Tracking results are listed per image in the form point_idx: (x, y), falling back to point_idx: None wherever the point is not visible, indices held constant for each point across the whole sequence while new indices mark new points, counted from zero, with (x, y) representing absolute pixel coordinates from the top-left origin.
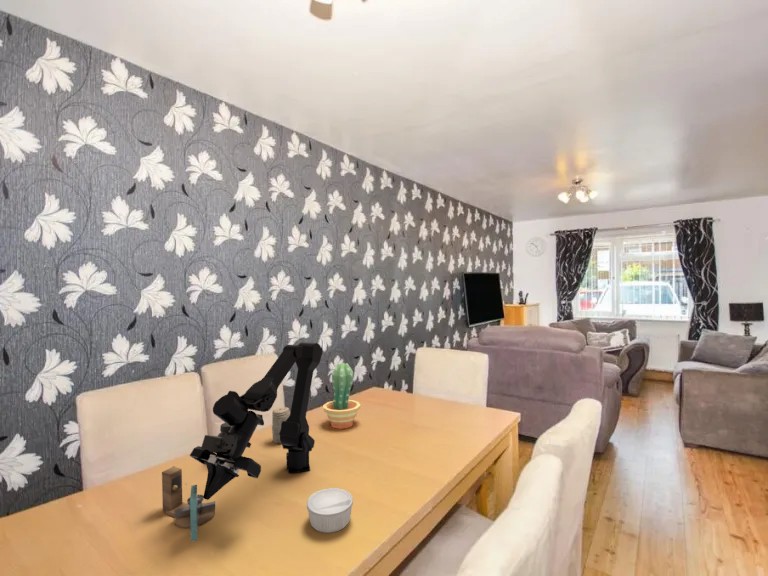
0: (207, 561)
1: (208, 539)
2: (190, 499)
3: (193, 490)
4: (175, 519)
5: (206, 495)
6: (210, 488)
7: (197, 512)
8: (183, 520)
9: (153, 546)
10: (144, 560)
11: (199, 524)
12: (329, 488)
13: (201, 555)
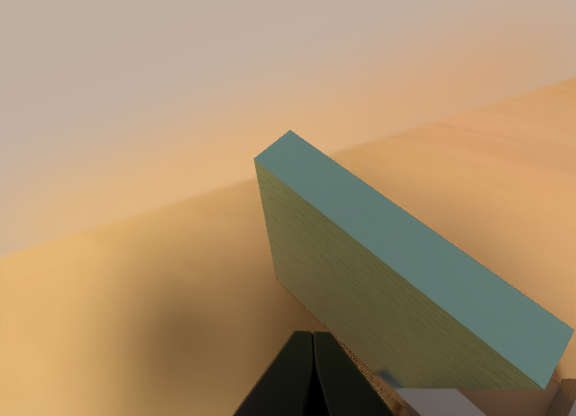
0: (173, 237)
1: (262, 338)
2: (293, 135)
3: (423, 252)
4: (554, 382)
5: (295, 340)
6: (270, 384)
7: (394, 370)
8: (504, 392)
9: (437, 223)
10: (387, 170)
11: (400, 414)
12: None
13: (217, 251)
